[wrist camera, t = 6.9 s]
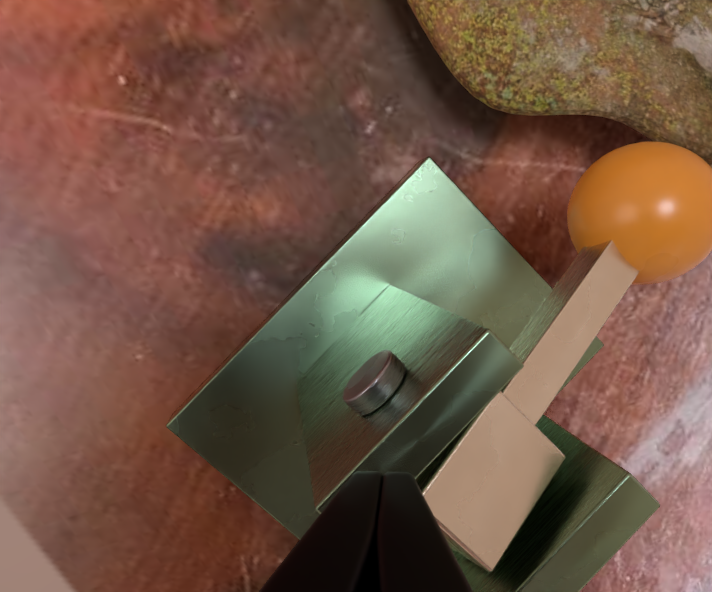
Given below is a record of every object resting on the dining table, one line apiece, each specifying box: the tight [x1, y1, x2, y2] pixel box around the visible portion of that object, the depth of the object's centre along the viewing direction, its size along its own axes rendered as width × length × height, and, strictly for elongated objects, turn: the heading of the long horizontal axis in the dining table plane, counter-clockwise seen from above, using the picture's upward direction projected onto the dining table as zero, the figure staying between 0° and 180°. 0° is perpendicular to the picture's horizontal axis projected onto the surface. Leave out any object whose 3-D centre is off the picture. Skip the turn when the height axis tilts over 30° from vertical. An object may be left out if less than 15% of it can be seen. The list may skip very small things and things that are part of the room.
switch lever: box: [416, 142, 712, 572], centre depth 13 cm, size 11×4×4 cm, turn 135°
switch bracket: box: [166, 157, 660, 592], centre depth 15 cm, size 12×9×10 cm
